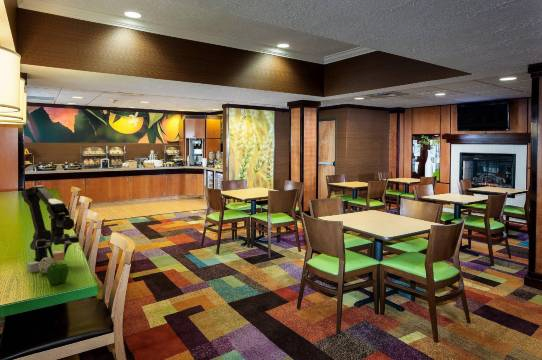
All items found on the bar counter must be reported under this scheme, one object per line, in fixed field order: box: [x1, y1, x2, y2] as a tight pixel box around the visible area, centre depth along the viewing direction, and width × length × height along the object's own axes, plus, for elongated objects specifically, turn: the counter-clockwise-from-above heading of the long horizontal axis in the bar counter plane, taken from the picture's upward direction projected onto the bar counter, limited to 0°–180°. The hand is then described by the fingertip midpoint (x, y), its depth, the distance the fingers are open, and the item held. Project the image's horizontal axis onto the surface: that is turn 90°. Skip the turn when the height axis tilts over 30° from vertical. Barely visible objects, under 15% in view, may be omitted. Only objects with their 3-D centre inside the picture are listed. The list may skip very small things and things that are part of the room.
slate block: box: [26, 261, 41, 273], centre depth 185 cm, size 4×4×4 cm
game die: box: [36, 256, 56, 275], centre depth 181 cm, size 9×8×10 cm
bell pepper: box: [46, 261, 69, 286], centre depth 169 cm, size 8×8×10 cm
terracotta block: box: [52, 249, 65, 262], centre depth 194 cm, size 5×5×4 cm
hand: (58, 257), depth 194 cm, fingers closed on terracotta block, 5 cm apart
